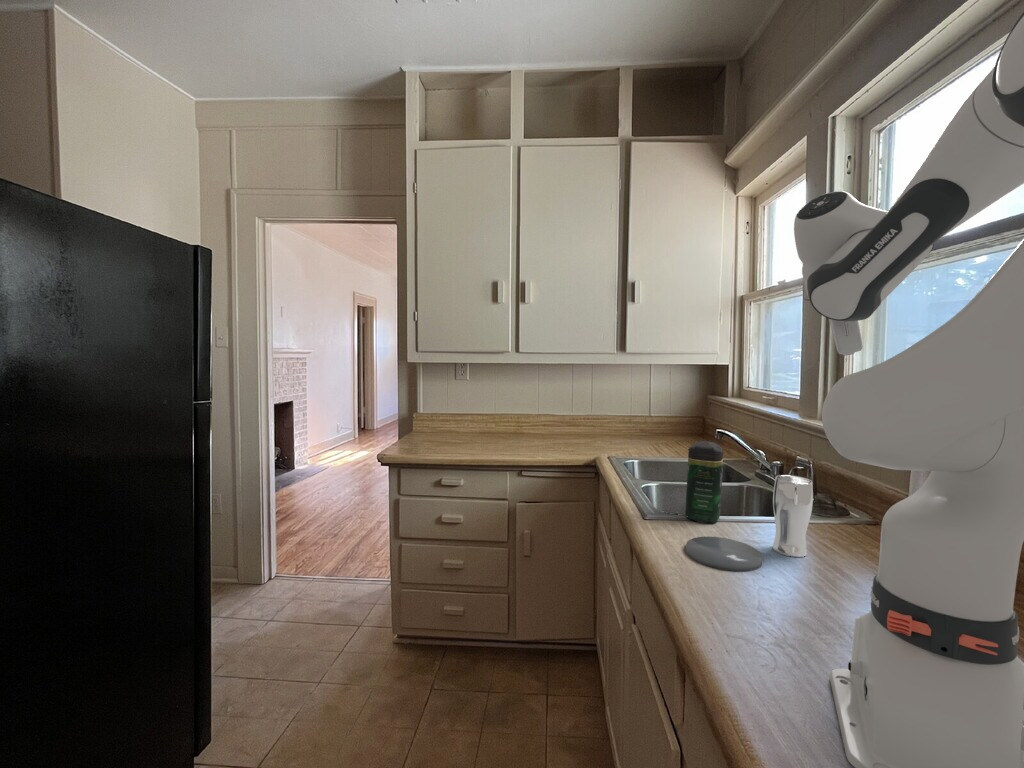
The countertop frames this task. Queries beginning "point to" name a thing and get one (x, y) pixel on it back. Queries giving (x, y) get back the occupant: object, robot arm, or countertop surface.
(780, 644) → the countertop surface
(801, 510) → the beer glass
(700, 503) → the coffee jar
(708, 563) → the coaster
